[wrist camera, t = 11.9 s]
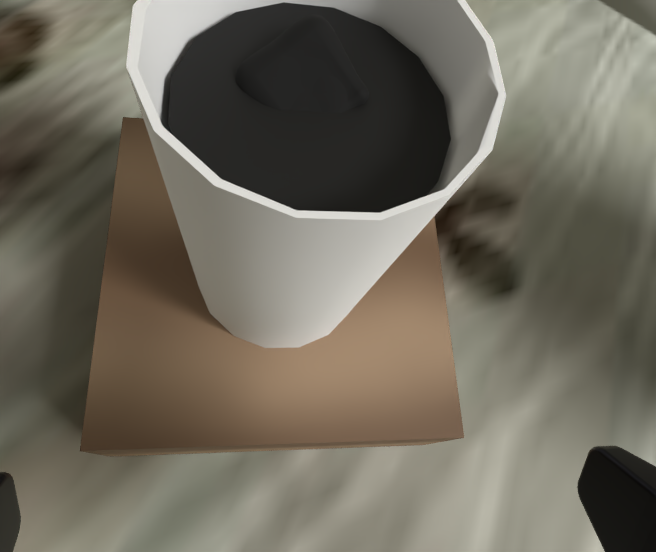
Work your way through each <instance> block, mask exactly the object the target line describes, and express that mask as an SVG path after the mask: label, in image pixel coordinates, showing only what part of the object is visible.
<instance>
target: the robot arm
mask: <svg viewBox="0 0 656 552" xmlns="http://www.w3.org/2000/svg"><path fill="white" fill-rule="evenodd" d="M578 494H579V497H580V500H581V502H582V504H583V506H584V509H585V511H586V513H587V515H588V517H589V519H590V521H591V523H592V525H593V528H594V530H595V532H596V534H597V536H598V538H599V540H600V542H601V544H602V547H603V549H604V551H605V552H656V467H655V466H653V465H652V464H650V463H648V462H646V461H644V460H642V459H641V458H639V457H637V456H635V455H633V454H631V453H630V452H628V451H626V450H624V449H622V448H620V447H617V446H597V447H594V448H592V449H591V450H590V451H589V453H588V456H587V458H586V461H585V464H584V467H583V469H582V472H581V475H580V478H579V480H578ZM20 522H21V516H20V510H19V505H18V500H17V495H16V490H15V485H14V480H13V478H12V476H11V475H10V474H9V473H6V472H0V552H13V550H14V546H15V543H16V540H17V537H18V533H19V529H20Z"/></svg>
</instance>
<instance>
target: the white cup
mask: <svg viewBox="0 0 656 552" xmlns="http://www.w3.org/2000/svg"><path fill="white" fill-rule="evenodd" d="M126 67H127V70H128V73H129V76H130V79H131V82H132V85H133V88H134V92H135V95H136V98H137V101H138V104H139V107H140V110H141V113H142V116H143V119H144V122H145V125H146V128H147V131H148V134H149V137H150V140H151V143H152V146H153V149H154V152H155V155H156V158H157V161H158V164H159V167H160V170H161V174H162V177H163V180H164V183H165V186H166V189H167V192H168V195H169V198H170V201H171V204H172V207H173V210H174V213H175V216H176V219H177V222H178V225H179V228H180V231H181V234H182V237H183V240H184V243H185V246H186V249H187V252H188V256H189V259H190V262H191V265H192V268H193V271H194V274H195V277H196V280H197V283H198V286H199V288H200V291H201V293H202V296H203V298H204V300H205V303H206V305H207V308H208V310H209V313H210V314H211V315H212V316H213V317H214V318H215V319H217V320H218V321H219V322H220V323H221V324H222V325H223V326H224V327H225V328H226V329H227V330H228V331H229V332H230V333H231V334H232V335H233V336H235V337H238V338H241V339H243V340H246V341H248V342H251V343H253V344H256V345H259V346H261V347H264V348H299V347H301V346H304V345H306V344H308V343H311V342H313V341H315V340H317V339H320V338H322V337H324V336H327V335H329V334H330V333H331V332H332V331H333V330H334V328H335V327H336V326H337V325H338V324H339V323H340V322H341V321H342V320H343V319H344V318H345V317H346V316H347V315H348V314H349V313H350V311H351V310H352V309H353V308H354V307H355V305H356V304H357V303H358V302H359V301H360V300H361V299H362V297H363V296H364V295H365V294H366V293H367V292H368V291H369V290H370V288H371V287H372V286H373V285H374V284H375V283H376V282H377V280H378V279H379V278H380V277H381V276H382V275H383V274H384V272H385V271H386V270H387V269H388V268H389V267H390V266H391V265H392V263H393V262H394V261H395V260H396V259H397V258H398V257H399V255H400V254H401V253H402V252H403V251H404V250H405V249H406V248H407V246H408V245H409V244H410V243H411V242H412V241H413V240H414V238H415V237H416V236H417V235H418V234H419V233H420V232H421V231H422V229H423V228H424V227H425V226H426V225H427V224H428V223H429V221H430V220H431V219H432V218H433V217H434V216H435V215H436V214H437V212H438V211H439V210H440V209H441V208H442V207H443V206H444V204H445V203H446V202H447V201H448V200H449V199H450V198H451V197H452V195H453V194H454V193H455V192H456V191H457V190H458V189H459V187H460V186H461V185H462V184H463V183H464V182H465V181H466V179H467V178H468V177H469V176H470V175H471V174H472V173H473V172H474V170H475V169H476V168H477V167H478V166H479V165H480V164H481V162H482V161H483V160H484V159H485V158H486V157H487V156H488V155H489V153H490V152H491V151H492V150H493V146H494V142H495V138H496V134H497V130H498V126H499V122H500V118H501V115H502V111H503V107H504V103H505V99H506V93H505V88H504V84H503V80H502V75H501V71H500V67H499V62H498V58H497V54H496V49H495V45H494V41H493V40H492V38H491V37H490V35H489V34H488V32H487V31H486V30H485V28H484V27H483V25H482V24H481V22H480V21H479V20H478V18H477V17H476V15H475V14H474V12H473V11H472V10H471V8H470V7H469V5H468V4H467V2H466V1H465V0H137V1H136V3H135V4H134V5H133V10H132V19H131V28H130V37H129V46H128V55H127V64H126Z"/></svg>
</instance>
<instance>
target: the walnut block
mask: <svg viewBox="0 0 656 552" xmlns="http://www.w3.org/2000/svg"><path fill="white" fill-rule="evenodd" d="M459 438H464V433H463V425H462V418H461V411H460V403H459V396H458V388H457V381H456V373H455V366H454V359H453V351H452V344H451V336H450V329H449V321H448V314H447V307H446V299H445V292H444V284H443V277H442V269H441V262H440V255H439V247H438V240H437V232H436V225H435V217H433V218H432V219H431V220H430V221H429V223H428V224H427V225H426V226H425V227H424V228H423V229H422V231H421V232H420V233H419V234H418V235H417V236H416V237H415V238H414V240H413V241H412V242H411V243H410V244H409V245H408V246H407V248H406V249H405V250H404V251H403V252H402V253H401V254H400V255H399V257H398V258H397V259H396V260H395V261H394V262H393V263H392V265H391V266H390V267H389V268H388V269H387V270H386V271H385V272H384V274H383V275H382V276H381V277H380V278H379V279H378V280H377V282H376V283H375V284H374V285H373V286H372V287H371V288H370V290H369V291H368V292H367V293H366V294H365V295H364V296H363V297H362V299H361V300H360V301H359V302H358V303H357V304H356V305H355V307H354V308H353V309H352V310H351V311H350V313H349V314H348V315H347V316H346V317H345V318H344V319H343V320H342V321H341V322H340V323H339V324H338V325H337V326H336V327H335V328H334V330H333V331H332V332H331V333H330V334H329V335H327V336H324V337H322V338H320V339H317V340H315V341H313V342H311V343H308V344H306V345H304V346H301V347H299V348H264V347H261V346H259V345H256V344H253V343H251V342H248V341H246V340H243V339H241V338H238V337H235V336H233V335H232V334H231V333H230V332H229V331H228V330H227V329H226V328H225V327H224V326H223V325H222V324H221V323H220V322H219V321H218V320H217V319H215V318H214V317H213V316H212V315H211V314H210V313H209V310H208V308H207V305H206V303H205V300H204V298H203V296H202V293H201V291H200V288H199V286H198V283H197V280H196V277H195V274H194V271H193V268H192V265H191V262H190V259H189V256H188V252H187V249H186V246H185V243H184V240H183V237H182V234H181V231H180V228H179V225H178V222H177V219H176V216H175V213H174V210H173V207H172V204H171V201H170V198H169V195H168V192H167V189H166V186H165V183H164V180H163V177H162V174H161V170H160V167H159V164H158V161H157V158H156V155H155V152H154V149H153V146H152V143H151V140H150V137H149V134H148V131H147V128H146V125H145V122H144V119H141V118H127V117H123V122H122V129H121V137H120V145H119V152H118V160H117V168H116V176H115V183H114V191H113V199H112V207H111V214H110V222H109V230H108V238H107V245H106V253H105V261H104V268H103V276H102V284H101V292H100V299H99V307H98V315H97V323H96V330H95V338H94V346H93V354H92V361H91V369H90V377H89V385H88V392H87V400H86V408H85V415H84V423H83V431H82V439H81V446H80V451H83V452H88V453H94V454H100V455H105V456H136V455H163V454H190V453H217V452H245V451H272V450H299V449H326V448H353V447H380V446H407V445H426V444H431V443H437V442H442V441H448V440H454V439H459Z"/></svg>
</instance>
